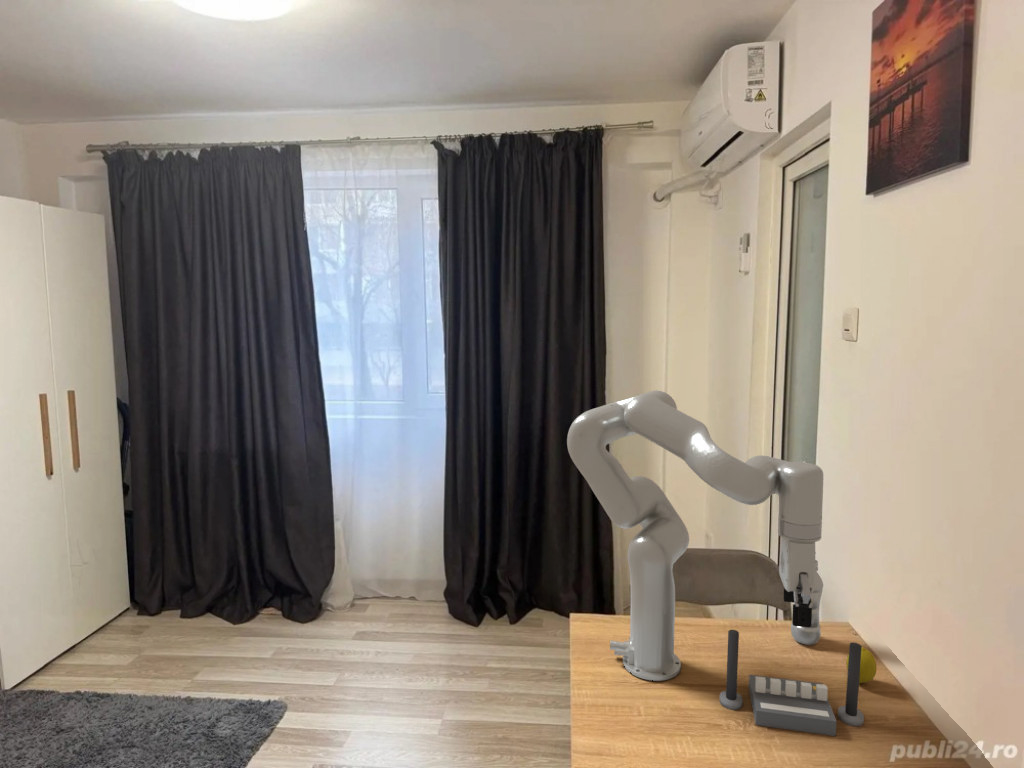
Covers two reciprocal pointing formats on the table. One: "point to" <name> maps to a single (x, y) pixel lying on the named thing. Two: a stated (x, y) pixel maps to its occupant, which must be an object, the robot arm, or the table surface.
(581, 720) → the table surface
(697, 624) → the table surface
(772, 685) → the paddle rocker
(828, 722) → the breaker panel
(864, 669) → the lemon
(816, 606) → the plastic bottle
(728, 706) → the cord post left
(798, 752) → the table surface
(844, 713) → the cord post right
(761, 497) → the robot arm
